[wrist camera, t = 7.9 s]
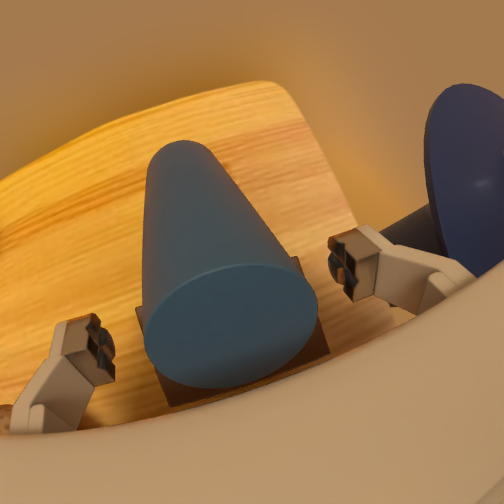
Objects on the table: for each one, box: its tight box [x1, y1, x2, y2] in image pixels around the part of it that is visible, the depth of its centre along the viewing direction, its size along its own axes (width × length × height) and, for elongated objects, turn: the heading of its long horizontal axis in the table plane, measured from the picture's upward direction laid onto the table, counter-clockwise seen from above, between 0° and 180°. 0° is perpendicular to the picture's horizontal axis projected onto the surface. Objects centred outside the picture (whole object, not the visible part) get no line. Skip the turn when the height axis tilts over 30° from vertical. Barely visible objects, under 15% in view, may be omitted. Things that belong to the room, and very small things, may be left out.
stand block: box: [135, 256, 330, 408], centre depth 16 cm, size 5×8×6 cm, turn 109°
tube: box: [142, 140, 318, 389], centre depth 13 cm, size 13×5×13 cm, turn 19°
